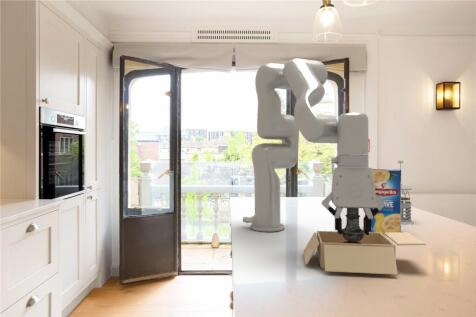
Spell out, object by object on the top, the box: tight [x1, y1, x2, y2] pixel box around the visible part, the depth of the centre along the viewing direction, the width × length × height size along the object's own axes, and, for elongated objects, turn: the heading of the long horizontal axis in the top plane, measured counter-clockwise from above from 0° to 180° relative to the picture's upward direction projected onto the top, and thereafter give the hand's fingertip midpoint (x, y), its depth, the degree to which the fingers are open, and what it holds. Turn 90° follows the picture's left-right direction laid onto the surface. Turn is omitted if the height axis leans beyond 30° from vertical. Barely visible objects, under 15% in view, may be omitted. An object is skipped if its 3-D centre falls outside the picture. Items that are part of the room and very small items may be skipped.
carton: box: [303, 230, 398, 276], centre depth 87 cm, size 20×20×6 cm
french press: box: [397, 159, 415, 225], centre depth 138 cm, size 10×12×25 cm
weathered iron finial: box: [342, 208, 365, 244], centre depth 86 cm, size 6×6×12 cm
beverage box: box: [369, 168, 402, 235], centre depth 120 cm, size 7×11×22 cm, turn 62°
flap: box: [383, 231, 426, 246], centre depth 84 cm, size 1×11×6 cm
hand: (352, 232), depth 86 cm, fingers closed on weathered iron finial, 5 cm apart
